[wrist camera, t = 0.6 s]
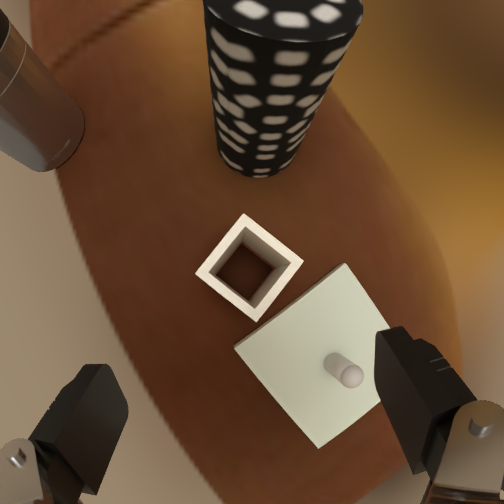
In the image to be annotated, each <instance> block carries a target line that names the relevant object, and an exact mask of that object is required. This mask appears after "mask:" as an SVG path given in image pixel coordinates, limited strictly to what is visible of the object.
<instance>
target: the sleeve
mask: <svg viewBox="0 0 504 504" xmlns="http://www.w3.org/2000/svg"><path fill="white" fill-rule="evenodd" d="M241 244H242V245H243V246H245V247H246V248H247V249H248V250H250V251H251V252H252V253H254V254H255V255H256V256H257V257H259V258H260V259H261V260H262V261H264V262H265V263H266V264H267V265H269V266H270V267H271V268H272V271H271V272H270V273H269V274H268V276H267V277H266V278H265V279H264V281H263V282H262V283H261V285H260V286H259V287H258V288H257V290H256V291H255V292H254V293H253V295H252V296H251V297H250V299H249V300H247V299H246V298H244V297H243V296H242V295H240V294H239V293H238V292H237V291H235V290H234V289H233V288H232V287H230V286H229V285H228V284H227V283H225V282H224V281H223V280H222V279H220V278H219V277H218V276H216V275H217V274H218V273H219V271H220V270H221V269H222V268H223V266H224V265H225V264H226V262H227V261H228V260H229V259H230V257H231V256H232V255H233V254H234V252H235V251H236V250H237V249H238V247H239V246H240V245H241ZM303 262H304V261H303V260H302V259H301V258H300V257H298V256H297V255H296V254H295V253H293V252H292V251H291V250H289V249H288V248H287V247H286V246H284V245H283V244H282V243H281V242H279V241H278V240H277V239H276V238H274V237H273V236H272V235H271V234H269V233H268V232H267V231H266V230H264V229H263V228H262V227H260V226H259V225H258V224H257V223H255V222H254V221H253V220H252V219H250V218H249V217H248V216H246V215H245V214H244V213H243V215H242V216H241V217H240V218H239V220H238V221H237V222H236V223H235V224H234V226H233V227H232V228H231V229H230V231H229V232H228V233H227V234H226V236H225V237H224V238H223V239H222V241H221V242H220V243H219V244H218V245H217V247H216V248H215V249H214V250H213V252H212V253H211V254H210V255H209V257H208V258H207V259H206V260H205V262H204V263H203V264H202V265H201V267H200V268H199V269H198V271H197V272H196V273H195V274H196V275H197V276H198V277H200V278H201V279H202V280H203V281H205V282H206V283H207V284H208V285H210V286H211V287H212V288H213V289H215V290H216V291H217V292H218V293H220V294H221V295H222V296H223V297H225V298H226V299H227V300H228V301H230V302H231V303H232V304H234V305H235V306H236V307H237V308H239V309H240V310H241V311H243V312H244V313H245V314H246V315H248V316H249V317H250V318H252V319H253V320H254V321H255V322H257V321H258V320H259V319H260V317H261V316H262V315H263V313H264V312H265V311H266V310H267V308H268V307H269V306H270V305H271V303H272V302H273V301H274V299H275V298H276V297H277V296H278V294H279V293H280V292H281V290H282V289H283V288H284V287H285V285H286V284H287V283H288V281H289V280H290V279H291V278H292V276H293V275H294V274H295V272H296V271H297V270H298V268H299V267H300V266H301V264H302V263H303Z"/></svg>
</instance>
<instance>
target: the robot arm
mask: <svg viewBox="0 0 504 504" xmlns="http://www.w3.org/2000/svg"><path fill="white" fill-rule="evenodd" d="M83 131H84V116H83V113H82V111H81V110H80V108H79V107H78V106H77V104H76V103H75V102H74V101H73V100H72V98H71V97H70V96H69V95H68V93H67V92H66V91H65V90H64V88H63V87H62V86H61V85H60V83H59V82H58V81H57V80H56V79H55V77H54V76H53V75H52V74H51V72H50V71H49V70H48V69H47V67H46V66H45V65H44V64H43V63H42V61H41V60H40V59H39V58H38V56H37V55H36V54H35V52H34V51H33V50H32V49H31V47H30V46H29V45H28V44H27V42H26V41H25V40H24V39H23V37H22V36H21V35H20V34H19V32H18V31H17V30H16V29H15V28H14V26H13V25H12V24H11V22H10V21H9V20H8V18H7V16H6V15H5V14H4V13H3V12H2V10H1V9H0V150H1V151H2V152H4V153H6V154H7V155H9V156H11V157H12V158H14V159H15V160H17V161H19V162H20V163H22V164H24V165H25V166H27V167H29V168H30V169H32V170H34V171H38V172H45V171H49V170H52V169H55V168H57V167H58V166H60V165H61V164H63V163H64V162H65V161H66V160H67V159H68V158H69V157H70V156H71V155H72V154H73V152H74V151H75V150H76V148H77V146H78V144H79V143H80V141H81V138H82V135H83ZM374 382H375V387H376V391H377V393H378V396H379V398H380V400H381V402H382V404H383V407H384V409H385V411H386V413H387V415H388V418H389V420H390V422H391V424H392V426H393V429H394V431H395V433H396V436H397V438H398V440H399V442H400V445H401V447H402V449H403V452H404V454H405V456H406V459H407V461H408V463H409V466H410V468H411V470H412V473H413V475H415V474H418V473H421V472H424V471H426V470H427V472H428V475H429V477H430V481H429V483H428V485H427V488H426V490H425V493H424V495H423V498H422V500H421V503H420V504H504V500H500V490H503V491H504V409H503V408H502V407H501V406H500V405H498V404H496V403H494V402H491V401H486V400H479V401H478V400H477V399H476V397H475V396H474V395H473V393H472V392H471V391H470V390H469V388H468V387H467V386H466V384H465V383H464V382H463V380H462V379H461V378H460V377H459V375H458V374H457V373H456V372H455V370H454V369H453V368H451V367H450V364H449V363H448V362H447V360H446V359H444V358H443V356H442V354H441V353H440V352H439V351H438V349H437V348H436V347H435V346H434V345H432V344H430V343H428V342H427V341H425V340H423V339H421V338H420V339H416V340H413V339H412V337H411V336H410V335H409V334H408V332H407V331H406V330H405V328H404V327H402V326H398V327H394V328H390V329H386V330H381V331H377V333H376V336H375V358H374ZM49 408H50V409H49V410H47V411H46V413H45V414H44V416H43V417H42V419H41V420H40V422H39V423H38V425H37V426H36V428H35V429H34V431H33V433H32V434H31V435H30V437H29V438H28V440H27V439H15V440H12V441H10V442H8V443H7V444H5V445H4V446H3V447H2V448H1V449H0V504H83V502H82V501H81V500H80V499H79V497H80V495H81V492H82V493H87V494H91V495H97V493H98V490H99V488H100V485H101V482H102V480H103V477H104V475H105V472H106V470H107V467H108V465H109V462H110V460H111V457H112V455H113V452H114V450H115V447H116V445H117V442H118V440H119V438H120V435H121V433H122V430H123V428H124V425H125V423H126V421H127V418H128V404H127V401H126V399H125V397H124V395H123V393H122V390H121V389H120V386H119V384H118V382H117V380H116V378H115V375H114V373H113V371H112V369H111V368H110V366H109V365H107V364H86V365H84V366H83V367H82V368H81V370H80V371H79V373H78V374H77V375H76V377H75V378H74V380H72V381H71V382H70V383H69V384H67V385H66V386H65V387H63V389H62V390H61V391H60V393H59V394H58V396H57V397H56V398H55V401H53V403H52V404H51V406H50V407H49Z"/></svg>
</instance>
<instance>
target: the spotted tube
mask: <svg viewBox="0 0 504 504" xmlns="http://www.w3.org/2000/svg"><path fill="white" fill-rule="evenodd" d="M203 10H204V21H205V32H206V43H207V54H208V65H209V75H210V85H211V95H212V104H213V114H214V123H215V133H216V142H217V149H218V151H219V154H220V156H221V158H222V159H223V161H224V162H225V163H226V164H227V165H228V166H229V167H230V168H231V169H232V170H234V171H235V172H237V173H239V174H242V175H244V176H248V177H256V178H262V177H269V176H272V175H275V174H277V173H279V172H281V171H282V170H284V169H285V168H286V167H287V166H288V165H289V164H290V163H291V161H292V160H293V158H294V156H295V154H296V152H297V150H298V148H299V146H300V144H301V142H302V140H303V138H304V136H305V134H306V131H307V129H308V127H309V125H310V123H311V121H312V119H313V117H314V115H315V113H316V111H317V109H318V107H319V105H320V103H321V101H322V99H323V97H324V95H325V93H326V91H327V89H328V87H329V85H330V82H331V80H332V78H333V76H334V74H335V72H336V70H337V68H338V66H339V64H340V62H341V60H342V58H343V56H344V54H345V52H346V50H347V48H348V46H349V44H350V42H351V40H352V38H353V36H354V34H355V32H356V30H357V27H358V26H359V23H360V21H361V19H362V17H363V5H362V1H361V0H203Z"/></svg>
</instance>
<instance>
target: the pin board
mask: <svg viewBox="0 0 504 504" xmlns="http://www.w3.org/2000/svg"><path fill="white" fill-rule="evenodd" d="M386 329H390V328H389V326H388V325H387V323H386V321H385V320H384V318H383V317H382V315H381V314H380V312H379V311H378V309H377V308H376V306H375V305H374V303H373V302H372V301H371V299H370V298H369V296H368V295H367V293H366V292H365V290H364V289H363V287H362V286H361V284H360V283H359V282H358V280H357V279H356V277H355V276H354V274H353V273H352V272H351V270H350V269H349V267H348V266H347V264H346V263H342V264H339V265H338V266H337V267H336V268H335V269H333V270H332V271H331V272H330V273H328V274H327V275H326V276H325V277H323V278H322V279H321V280H320V281H318V282H317V283H316V284H315V285H313V286H312V287H311V288H310V289H308V290H307V291H306V292H304V293H303V294H302V295H301V296H299V297H298V298H297V299H295V300H294V301H293V302H292V303H290V304H289V305H288V306H286V307H285V308H284V309H282V310H281V311H280V312H279V313H277V314H276V315H275V316H273V317H272V318H271V319H269V320H268V321H267V322H265V323H264V324H263V325H261V326H260V327H259V328H257V329H256V330H254V331H253V332H252V333H250V334H249V335H248V336H246V337H245V338H244V339H242V340H241V341H239V342H238V343H237V344H235V345H234V349H235V350H236V352H237V353H238V354H239V355H240V357H241V358H242V359H243V360H244V362H245V363H246V364H247V365H248V367H249V368H250V369H251V370H252V372H253V373H254V374H255V375H256V377H257V378H258V379H259V380H260V381H261V383H262V384H263V385H264V386H265V388H266V389H267V390H268V391H269V392H270V394H271V395H272V396H273V397H274V398H275V399H276V401H277V402H278V403H279V404H280V405H281V407H282V408H283V409H284V410H285V411H286V412H287V414H288V415H289V416H290V417H291V418H292V419H293V420H294V422H295V423H296V424H297V425H298V426H299V427H300V428H301V430H302V431H303V432H304V433H305V434H306V435H307V436H308V437H309V439H310V440H311V441H312V442H313V443H314V444H315V445H316V446H317V447H318V449H319V448H320V447H321V446H323V445H324V444H326V443H327V442H329V441H330V440H331V439H333V438H334V437H335V436H337V435H338V434H339V433H341V432H342V431H343V430H345V429H346V428H347V427H349V426H350V425H351V424H353V423H354V422H355V421H356V420H358V419H359V418H360V417H361V416H363V415H364V414H365V413H366V412H368V411H369V410H370V409H371V408H372V407H374V406H375V405H376V404H377V403H378V402H380V401H381V400H380V398H379V396H378V393H377V391H376V387H375V382H374V358H375V336H376V333H377V331H381V330H386Z"/></svg>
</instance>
